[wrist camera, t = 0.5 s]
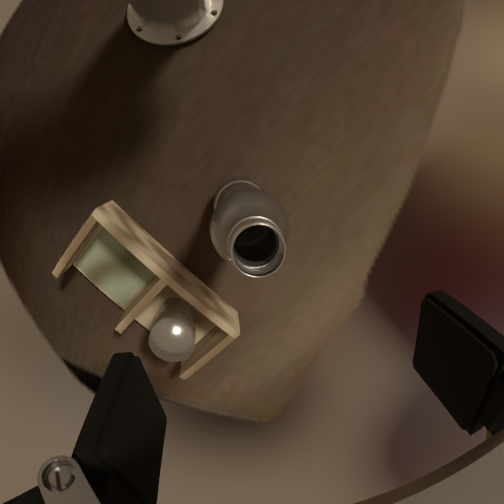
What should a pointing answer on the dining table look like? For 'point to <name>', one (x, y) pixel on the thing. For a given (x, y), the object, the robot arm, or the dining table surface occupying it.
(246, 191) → the plastic bottle
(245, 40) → the dining table surface
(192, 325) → the grey short cylinder
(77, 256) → the divider rack
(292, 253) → the dining table surface
